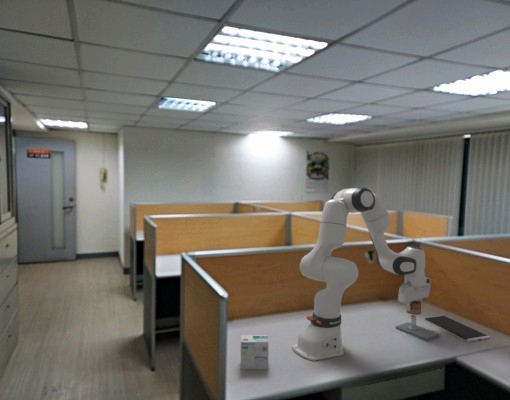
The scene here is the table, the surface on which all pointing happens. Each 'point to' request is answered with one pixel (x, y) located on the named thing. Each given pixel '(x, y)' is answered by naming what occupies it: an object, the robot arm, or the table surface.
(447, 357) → the table surface
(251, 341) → the light bulb box
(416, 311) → the ring
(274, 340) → the table surface
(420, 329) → the post stand
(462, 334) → the smartphone
